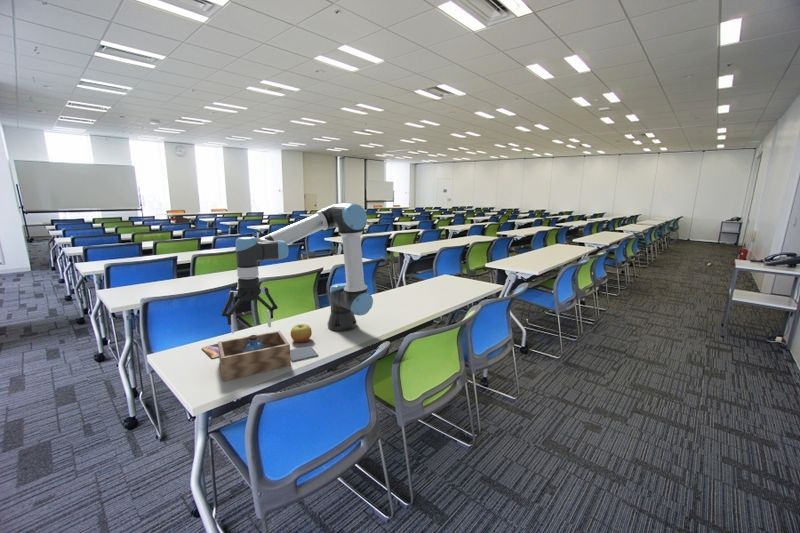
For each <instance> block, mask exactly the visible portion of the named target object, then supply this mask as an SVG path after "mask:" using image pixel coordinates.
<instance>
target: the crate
mask: <svg viewBox="0 0 800 533" xmlns="http://www.w3.org/2000/svg"><path fill="white" fill-rule="evenodd" d="M256 335H257V338H258V342H259V343H262V344H263V346H264V347H265V348H264V349H259V350H254V351H250V352H245V353H242V351H243V350H244V348H245V346H246V345H248V344H249V336H250V335H249V336H243V337H238V338H232V339H226V340H222V341H221V340H220V341H217V344H218V350H219V358H218V361H219V365H220V371H221V376H222V380H223V381H222V382H227V381H230V380H236V379H240V378H244V377H248V376H252V375H256V374H260V373H263V372H264V373H266V372H269V371H274V370H278V369H282V368H286V367H289V366H292V363H291V362H292V361H291V359H290V350H291V346H290V343H289V341H288V340H287V338H285V336H284V334H283V333H282V332H281V331H280V330H276V331H271V332H270V331H269V332H266V333H264V332H263V333H259V334H256Z"/></svg>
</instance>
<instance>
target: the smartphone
mask: <svg viewBox="0 0 800 533" xmlns="http://www.w3.org/2000/svg"><path fill="white" fill-rule="evenodd" d="M201 351H203V353H204V354H206V355H207V357H208V358H210V359H211V360H215V359H219V350H218V343H215V344H211V345H207V346H204V347H202V348H201Z"/></svg>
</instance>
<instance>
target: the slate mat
mask: <svg viewBox="0 0 800 533" xmlns="http://www.w3.org/2000/svg"><path fill="white" fill-rule="evenodd" d="M316 357H319V354H318V352H316V350H315V349H314V348H313V346H311V345H306V346H302V347H298V348H293V349H290V359H291V362H292V363H295V362H299V361H304V360H308V359H311V358H316Z"/></svg>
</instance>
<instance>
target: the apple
mask: <svg viewBox="0 0 800 533" xmlns="http://www.w3.org/2000/svg"><path fill="white" fill-rule="evenodd" d="M312 334H313V331H312V328H311V326H310V325H309V324H307V323H299V324H295V325H294V326H293V327H292V328H291V329H290V337H291V340H293V342H295V343H299V344H300V343H305V342H307V341H309V340H310V338H311V337H312Z"/></svg>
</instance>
